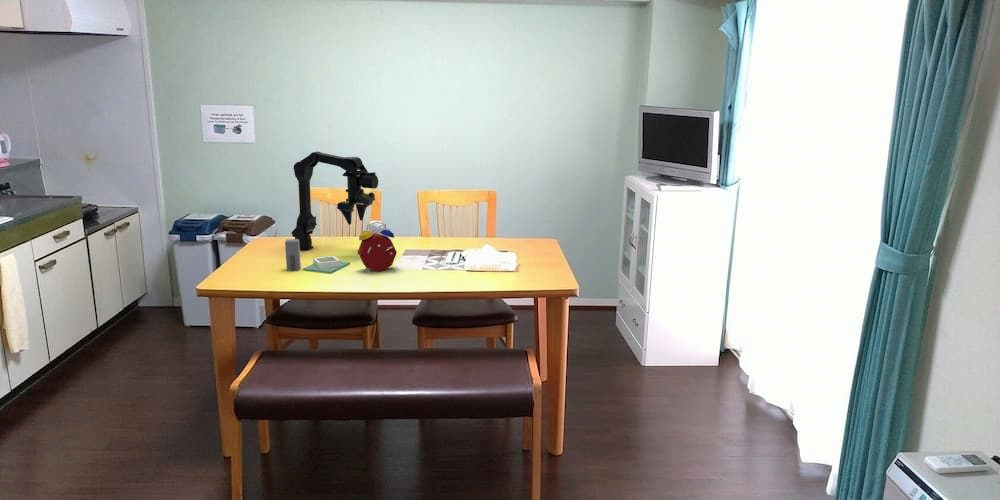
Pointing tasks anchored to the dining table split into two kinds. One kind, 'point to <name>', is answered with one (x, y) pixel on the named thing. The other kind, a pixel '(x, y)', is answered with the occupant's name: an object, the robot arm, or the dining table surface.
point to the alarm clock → (377, 249)
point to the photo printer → (376, 227)
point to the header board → (329, 270)
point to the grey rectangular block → (292, 254)
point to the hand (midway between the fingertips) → (355, 222)
